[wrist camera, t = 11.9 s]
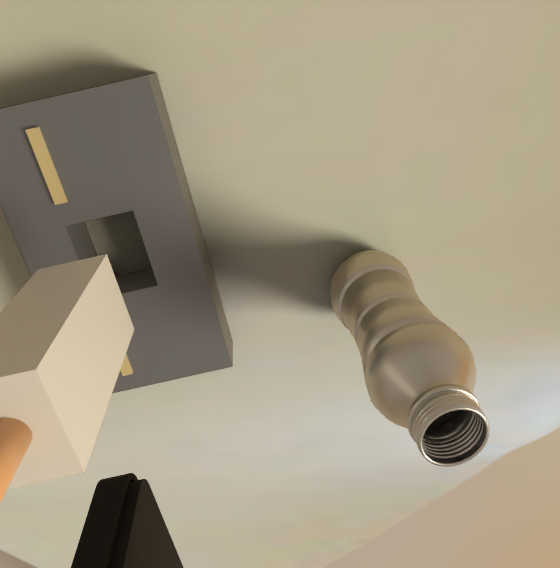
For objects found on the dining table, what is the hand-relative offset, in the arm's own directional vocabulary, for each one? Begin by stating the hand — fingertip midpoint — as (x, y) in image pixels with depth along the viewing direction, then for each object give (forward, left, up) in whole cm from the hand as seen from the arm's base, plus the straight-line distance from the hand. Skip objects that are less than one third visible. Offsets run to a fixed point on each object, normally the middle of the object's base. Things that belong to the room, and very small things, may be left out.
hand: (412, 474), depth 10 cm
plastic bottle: (+12, +5, -34) cm, 36 cm away
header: (+4, -13, -33) cm, 36 cm away
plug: (+4, -13, -22) cm, 26 cm away
